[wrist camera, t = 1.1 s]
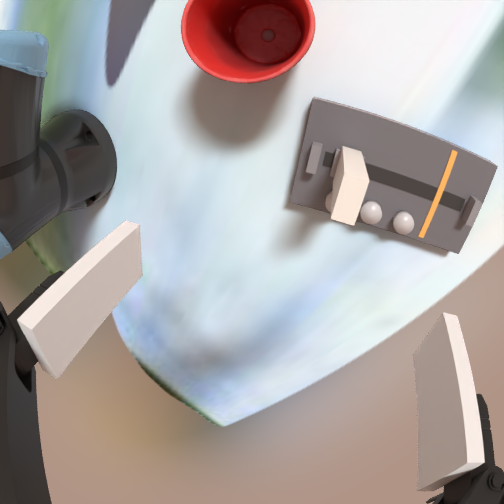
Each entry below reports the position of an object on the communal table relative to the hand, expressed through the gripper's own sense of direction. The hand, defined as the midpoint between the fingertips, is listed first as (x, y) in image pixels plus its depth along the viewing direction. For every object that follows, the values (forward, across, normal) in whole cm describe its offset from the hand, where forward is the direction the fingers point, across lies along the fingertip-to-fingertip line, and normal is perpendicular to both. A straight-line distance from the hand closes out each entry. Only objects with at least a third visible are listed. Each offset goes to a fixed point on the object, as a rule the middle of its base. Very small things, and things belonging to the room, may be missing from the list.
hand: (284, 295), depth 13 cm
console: (+26, +9, -1) cm, 27 cm away
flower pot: (+25, -8, +11) cm, 29 cm away
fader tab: (+23, +3, -1) cm, 23 cm away
